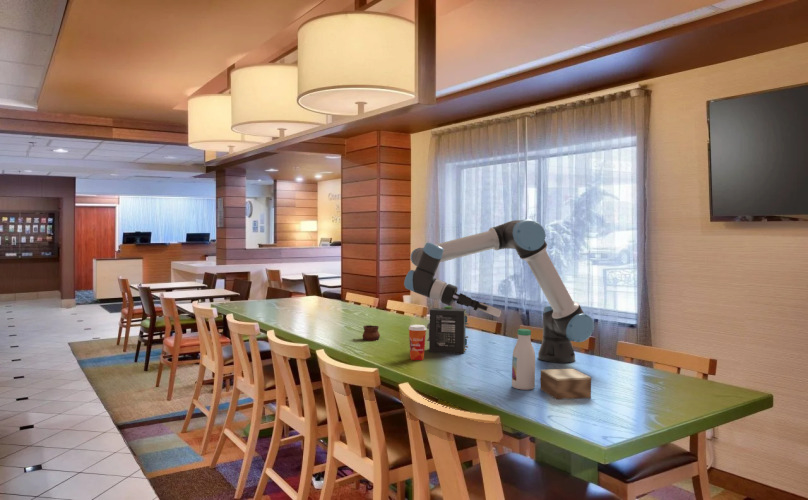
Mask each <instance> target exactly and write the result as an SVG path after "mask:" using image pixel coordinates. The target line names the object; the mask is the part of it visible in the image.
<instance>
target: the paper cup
mask: <svg viewBox="0 0 808 500" xmlns="http://www.w3.org/2000/svg"><path fill="white" fill-rule="evenodd" d="M408 332H409V333H408V337H409V338H408V339H409V357H410V360H411V361H415V360H420V361H423V360H424V359H425V348H426V347H425V345H426V334H427V326H426V325H425V324H410V325H409V326H408Z"/></svg>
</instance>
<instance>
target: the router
mask: <svg viewBox="0 0 808 500" xmlns="http://www.w3.org/2000/svg"><path fill="white" fill-rule="evenodd" d="M469 315H470V313H469V312H467V309H466V308H453V307H452V305H450V306H449V305H447V306H444V307H431V308H430V309H429V322H428V324H427V325H426V329H428V339H427V340H426V342H429V345H428V347H429V348H428V352H429V353H441V354H442V353H443V354H458V355H460V354H462V355H463V354H465V351H467V349H468V348H469V345H468V339H469V336H468V335H466V329H467V328H466V327H467V326H469V322H468V316H469ZM466 325H467V326H466Z"/></svg>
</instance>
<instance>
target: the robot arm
mask: <svg viewBox="0 0 808 500" xmlns="http://www.w3.org/2000/svg"><path fill="white" fill-rule="evenodd" d="M547 247H548V244H547V241H546V230H545V228H544V226H543V225H542V224H541V223H539V222H538V221H536V220H533V219H524V218H523V219H517V220H515V219H514V220H510V221H508V222H504V223H502V224H500V225H496V226H492V227H490V228H489V229H488V230H487V231H483V232H479V233H475V234H472V235H467V236H463V237H459V238H456V239H452V240H449V241H444V242H441V243H436V244H434V243H431V242H425V244H424V247H417V248H415V249H414V250H413V251H412V252H411V253H410V260H411V263H412V264H413V265H414V266H416V268H415V269H414V270H413V269H410V270H408V272H407V274H406V276H405V278H404V282H403V286H404V287H405V289H406V290H409V291H411V292H413V293H416V294H418V295H421V296H424V297H427V298H428V299H431V300H432V301H433V302H435V301H437V302H441V304H445V305H447V306H452V305H453V304H454V302H455V301H456V304H458V305H461V306H465V307H471V308H473V310H474V311H477V310H479V311H480V312H484V313H486V314H489V315H491V316H494V317H496V318H500V317H501V315H502V310H500V309H498V308H497V307H494V306H491V305H489V304H487V303H486V302H481V301H478V300H477V299H473V298H471V297H468V295H466V294H463V293H461V292H460V293H458V286H456V285H453V284H450V283H448V282H446V281H443V280H441V279H438V278H434V277H435V275H436V273H437V270H438V267H439V265H440V263H444V262H447V261H451V260H454V259H458V258H463V257H466V256H470V255H471V256H472V255H474V254H478V253H481V252H485V251H486V252H487V251H490V250H494V251H500V250H506V249H507V250H508V249H511V250H515V251H516V253H517V255H518V257H519V258H520V260H524V261H526V264H527V265H528V267H529V269H530V270H531V272H532V274H533V276H534V277H535V279H536V282H537V283H538V286H539V287H540V289H541V291H542V292H543V295H544V296H545V298H546V301H548V305H545V306H544V307H543V312H542V315H543V316H542V319H543V320H542V342H541V345H540V347H539V350H538V353H537V354H538V355H537V358H538V359H539V360H541V361H545V362H549V363H559V364H561V363H565V364H566V363H567V364H568V363H572V362H573V363H574V362H575V361H576V354H575V350H574V347H573V344H572V342H576V343H582V342H585V341H587V340H588V339H589V338H590V337H591V335H592V334H593V331H594V328H595V323H594V320H593V318H592V317H591V316H590V315H589V314H588V313H585V312H584V311H583V309H582V306H581V304H580V303H579V302H577V301H574V300H573V298H572V296H571V294H570V293H569V291H568V290H567V287H566V286H565V284H564V281H563V280H562V278H561V276H560V275H559V273H558V271H557V269H556V267H555V265H554V263H553V261H552V259H551V257H550V255H549V254H548V252H547Z"/></svg>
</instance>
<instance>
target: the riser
mask: <svg viewBox="0 0 808 500" xmlns="http://www.w3.org/2000/svg"><path fill="white" fill-rule="evenodd" d="M540 378H541V380H540V390H541V391H542V392H544V393H546V394H547V395H549V396H551V397H552V396H553V397H552V398H553V399H555V398H556V400H564V399H563V398H567V399H566V400H569V398H570V399H589V398H591V397H592V377H591V376H589V375H587V374H585V373H583V372H581V371H579V370H577V369H575V368H556V369H555V368H552V369H540Z"/></svg>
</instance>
